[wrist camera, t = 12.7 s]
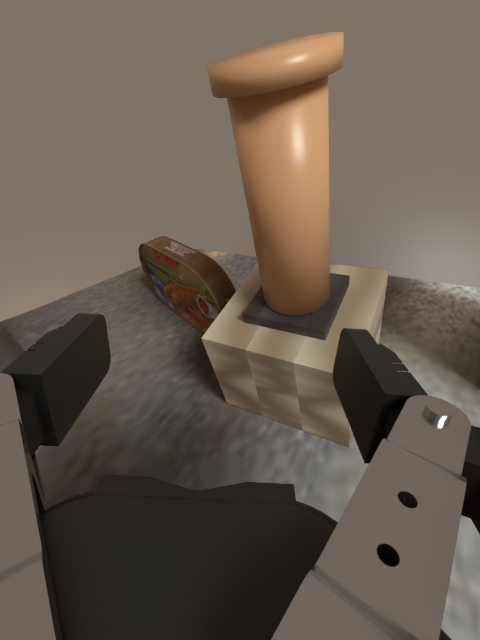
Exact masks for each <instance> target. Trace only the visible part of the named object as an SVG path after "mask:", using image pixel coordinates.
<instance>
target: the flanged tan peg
mask: <svg viewBox="0 0 480 640" xmlns="http://www.w3.org/2000/svg"><path fill="white" fill-rule="evenodd" d="M343 36H344V33H343V32H330V33H322V34H316V35H311V36H305V37H300V38H295V39H291V40H286V41H282V42H278V43H274V44H269V45H265V46H262V47H258V48H254V49H250V50H247V51H244V52H240V53H237V54H234V55H231V56H228V57H225V58H222V59H219V60H217V61H214V62H212V63H210V64H208V65H207V71H208V76H209V81H210V85H211V90H212V94H213V96H214V97H218V98H227V101H228V106H229V112H230V117H231V122H232V128H233V133H234V138H235V144H236V149H237V155H238V159H239V165H240V170H241V176H242V181H243V187H244V192H245V197H246V203H247V208H248V213H249V219H250V224H251V229H252V235H253V240H254V245H255V251H256V256H257V261H258V267H259V272H260V277H261V283H262V288H263V293H264V299H265V302H266V304H267V306H268V307H269V308H270V309H272V310H273V311H275V312H277V313H280V314H283V315H290V316H298V315H304V314H312V313H313V312H314V311H316V310H318V309H320V308H321V307H322V306H324V305H325V304H326V302H327V301H328V299H329V297H330V219H329V217H330V212H329V211H330V210H329V128H328V127H329V122H328V121H329V120H328V119H329V118H328V75H330V74H332V73H334V72H336V71H338V70H339V69H341V68H342V67H343V42H344V41H343V40H344V39H343V38H344V37H343Z"/></svg>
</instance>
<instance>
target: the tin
mask: <svg viewBox="0 0 480 640" xmlns="http://www.w3.org/2000/svg"><path fill="white" fill-rule="evenodd" d="M139 258H140V261H141V265H142V268H143V270H144V272H145V275H146V277H147V279H148V280H149V282H150V284H151V286H152V287H153V289H154V291H155V292H156V294H157V295H158V297H159V298H160V299H161V300H162V301H163V303H164V304H165V305H166V306H167V307H168V308H170V309H171V310H172V311H174V312H175V313H176V314H178V315H179V316H180V317H182V318H183V319H185V320H186V321H187V322H189V323H190V324H191V325H193V326H194V327H195V328H197V329H198V330H199V331H201V332H202V333H203V334H205V332H206V331H207V330H208V328H209V327H210V326H211V324H212V323H213V322H214V320H215V319H216V318H217V316H218V315H219V314H220V312H221V311H222V310H223V308H224V307H225V306H226V304H227V303H228V302H229V300H230V299H231V298H232V296H233V295H234V294H235V292H236V291H235V288H234V286H233V284H232V282H231V280H230V279H229V277H228V276H227V274H226V273H225V271H224V270H223V269H222V268H221V267H220V266H219V265H218V264H217V263H216V262H215V261H214V260H213V259H211V258H210V257H208V256H207V255H204V254H202V253H200V252H198V251H196V250H194V249H192V248H190V247H188V246H185V245H183V244H181V243H179V242H177V241H175V240H172V239H170V238H168V237H165V236H163V237H158V238H156V239H154V240H151V241H149V242H147V243H143V244H141V245H140V247H139Z"/></svg>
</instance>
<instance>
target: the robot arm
mask: <svg viewBox="0 0 480 640" xmlns="http://www.w3.org/2000/svg"><path fill="white" fill-rule="evenodd" d="M110 359H111V358H110V348H109V341H108V334H107V327H106V320H105V318H104V316H103V315H101V314H83V313H78V314H77V315H75V316H74V317H73V318H72V319H71V320H70V321H69V322H68V323H66V324H65V325H64V326H63V327H59V328H57V329H55V330H53V331H51V332H48V333H46V334H45V335H44V336H43V337H42V338H40V339H39V340H38V341H37V342H36V344H33V345H32V346H31V347H30V348H29V349H27V351H25V352H24V351H23V350H22V349H21V348H20V347H19V345H18V344H17V343H16V342H15V341H14V340H13V339H12V338H11V337H10V336H9V335H8V334H7V333H6V332H5V331H4V330H3V329H2V328H1V326H0V640H451V639H450V638H449V636H448V635H447V634H446V633H445V632H444V631H443V630H442V629H441V625H442V619H443V614H444V608H445V602H446V597H447V591H448V585H449V580H450V574H451V569H452V563H453V557H454V552H455V546H456V541H457V535H458V529H459V524H460V518H461V515H463V516H466V517H469V518H471V520H472V521H473V523H474V525H475V527H476V528H477V530H478V532H479V534H480V428H478V427H474V426H471V423H470V420H469V419H468V417H467V416H466V415H465V414H464V413H463V412H462V411H461V410H460V409H458V408H457V407H456V406H454V405H452V404H451V403H449V402H447V401H444V400H442V399H439V398H436V397H432V396H428V395H427V393H426V392H425V391H424V390H423V388H422V387H421V386H420V384H419V383H418V382H417V381H416V379H415V378H414V377H413V376H412V374H411V373H409V372H408V371H409V370H408V369H407V368H406V367H405V365H404V364H402V362H401V360H400V359H399V358H398V356H397V355H396V354H395V353H394V352H393V351H391V350H390V349H388V348H387V347H385V346H384V345H382V344H377V342H376V341H375V340H374V338H373V337H372V336H371V334H370V333H369V331H368V330H366V329H350V328H343V329H342V331H341V333H340V338H339V342H338V347H337V352H336V357H335V362H334V366H333V383H334V387H335V389H336V392H337V394H338V397H339V399H340V402H341V404H342V407H343V410H344V412H345V415H346V417H347V420H348V422H349V425H350V427H351V430H352V432H353V435H354V437H355V440H356V442H357V445H358V447H359V450H360V452H361V455H362V458H363V460H364V463H370V464H369V465H368V467H367V469H366V471H365V473H364V475H363V477H362V479H361V480H360V482H359V484H358V486H357V488H356V490H355V492H354V494H353V495H352V497H351V499H350V501H349V503H348V505H347V507H346V509H345V510H344V512H343V514H342V516H341V518H340V520H339V522H338V523H337V522H336V521H335V520H333V519H332V518H330V517H329V516H328V515H326V514H325V513H323V512H321V511H319V510H317V509H315V508H313V507H311V506H309V505H306V504H304V503H301V502H298V501H296V498H295V491H294V484H274V483H255V482H244V483H239V484H234V485H228V486H223V487H217V488H212V489H206V490H200V491H195V490H190V489H187V488H184V487H180V486H177V485H174V484H171V483H167V482H164V481H161V480H157V479H154V478H151V477H137V476H118V475H102V477H101V479H100V481H99V483H98V486H97V488H96V490H95V491H93V492H89V493H85V494H82V495H78V496H75V497H73V498H70V499H67V500H65V501H63V502H61V503H58V504H56V505H54V506H52V507H50V508H49V509H48V507H47V503H46V498H45V494H44V489H43V485H42V480H41V475H40V471H39V466H38V462H37V458H36V455H35V452H36V450H37V449H38V447H39V446H40V445H43V446H59V445H60V443H61V442H62V440H63V439H64V437H65V436H66V434H67V433H68V431H69V430H70V428H71V427H72V425H73V424H74V422H75V421H76V419H77V418H78V416H79V415H80V413H81V412H82V410H83V409H84V407H85V406H86V404H87V403H88V401H89V400H90V398H91V397H92V395H93V394H94V392H95V391H96V389H97V388H98V386H99V385H100V383H101V382H102V380H103V378H104V377H105V375H106V374H107V372H108V370H109V366H110Z"/></svg>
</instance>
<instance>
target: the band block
mask: <svg viewBox="0 0 480 640" xmlns="http://www.w3.org/2000/svg"><path fill="white" fill-rule="evenodd" d="M388 272H389V271H388V270H381V269H372V268H363V267H355V266H346V265H337V264H330V297H329V299H328V301H327V302H326V304H325V305H324V306H322V307H321V308H320V309H318V310H316V311H314V312H313V313H312V314H304V315H298V316H290V315H283V314H280V313H277V312H275V311H273V310H272V309H270V308H269V307H268V306H267V304H266V302H265V299H264V293H263V288H262V283H261V277H260V272H259V267H258V263H257V264H256V266H255V267H254V268H253V270H252V271H251V272H250V274H249V275H248V276H247V278H246V279H245V280H244V282H243V283H242V284H241V286H240V287H239V288H238V290H237V291H236V292H235V294H234V295H233V296H232V298H231V299H230V300H229V302H228V303H227V304H226V306H225V307H224V308H223V310H222V311H221V312H220V314H219V315H218V316H217V318H216V319H215V320H214V322H213V323H212V324H211V326H210V327H209V328H208V330H207V331H206V332H205V334H204V335H203V336H202V338H201V339H202V341H203V344H204V346H205V349H206V351H207V354H208V357H209V359H210V362H211V364H212V367H213V369H214V372H215V374H216V377H217V379H218V382H219V384H220V387H221V389H222V392H223V394H224V397H225V399H226V402H227V403H228V404H231V405H233V406H236V407H239V408H242V409H244V410H247V411H250V412H253V413H255V414H258V415H261V416H264V417H267V418H269V419H272V420H275V421H278V422H280V423H283V424H286V425H289V426H292V427H294V428H297V429H300V430H303V431H305V432H308V433H311V434H314V435H316V436H319V437H322V438H325V439H328V440H330V441H333V442H336V443H339V444H341V445H344V446H347V447H349V445H350V442H351V439H352V435H353V432H352V430H351V427H350V425H349V422H348V420H347V417H346V415H345V412H344V410H343V407H342V404H341V402H340V399H339V397H338V394H337V392H336V389H335V387H334V383H333V366H334V362H335V357H336V352H337V347H338V342H339V338H340V333H341V331H342V329H343V328H350V329H366V330H368V331H369V333H370V334H371V336H372V337H373V338H374V340H375V341H376V342H377V344H379V339H380V332H381V324H382V317H383V309H384V302H385V294H386V287H387V280H388Z"/></svg>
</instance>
